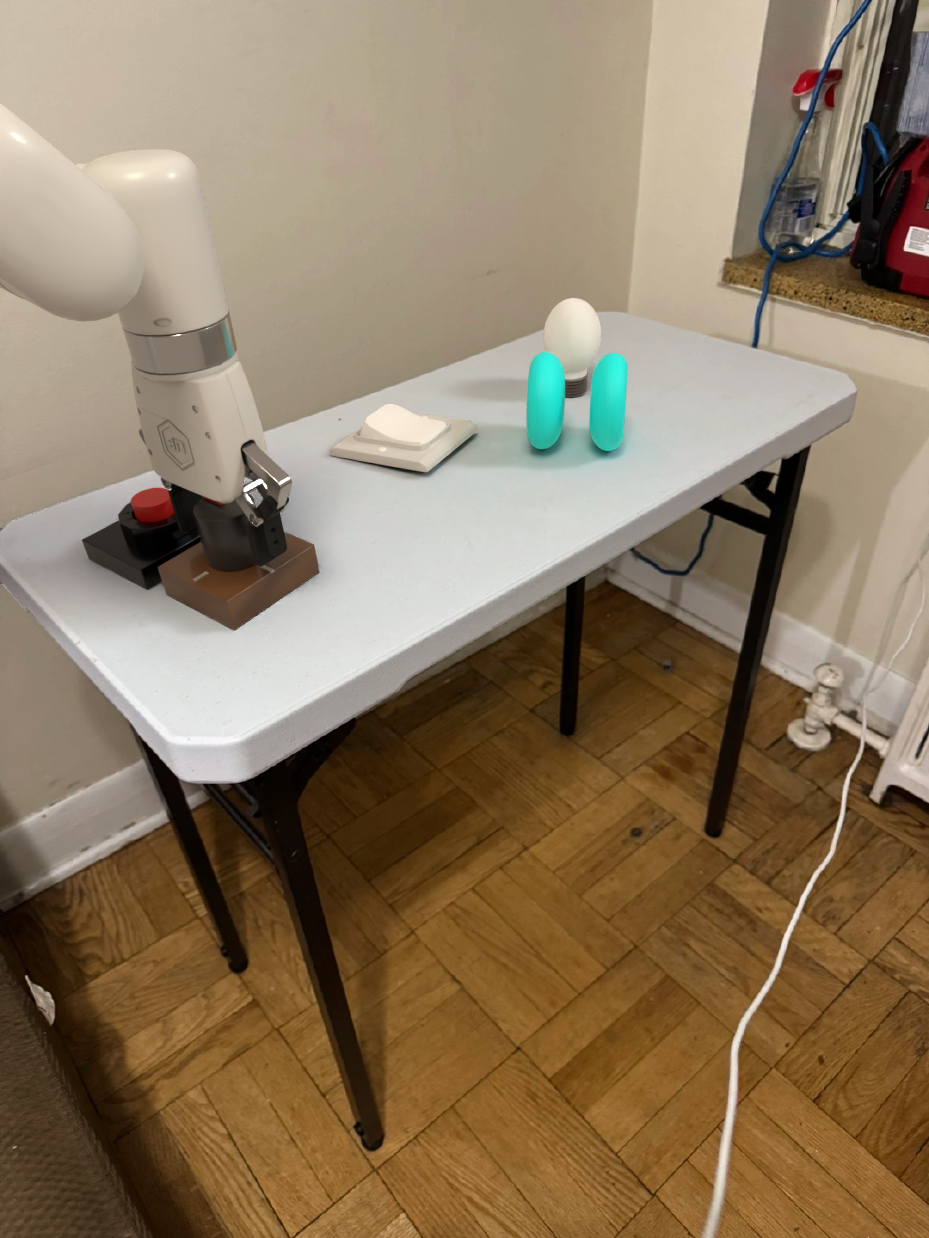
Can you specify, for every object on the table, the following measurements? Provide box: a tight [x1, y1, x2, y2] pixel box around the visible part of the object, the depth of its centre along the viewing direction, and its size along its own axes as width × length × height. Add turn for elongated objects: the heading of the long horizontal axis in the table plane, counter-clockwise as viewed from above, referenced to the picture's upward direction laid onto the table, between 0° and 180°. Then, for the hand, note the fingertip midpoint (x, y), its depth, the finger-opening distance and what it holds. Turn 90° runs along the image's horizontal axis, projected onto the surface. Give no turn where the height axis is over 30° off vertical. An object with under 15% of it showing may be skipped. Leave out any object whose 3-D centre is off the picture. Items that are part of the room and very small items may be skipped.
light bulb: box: [543, 297, 602, 398], centre depth 102 cm, size 7×7×11 cm
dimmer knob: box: [193, 493, 257, 571], centre depth 73 cm, size 5×5×5 cm
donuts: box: [525, 351, 628, 452], centre depth 91 cm, size 10×10×10 cm
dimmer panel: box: [158, 531, 320, 631], centre depth 76 cm, size 10×9×3 cm
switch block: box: [81, 501, 201, 591], centre depth 81 cm, size 11×9×4 cm
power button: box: [130, 487, 174, 522], centre depth 79 cm, size 4×4×2 cm
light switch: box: [329, 402, 478, 473], centre depth 95 cm, size 11×4×13 cm
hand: (232, 540), depth 74 cm, fingers open, 9 cm apart
